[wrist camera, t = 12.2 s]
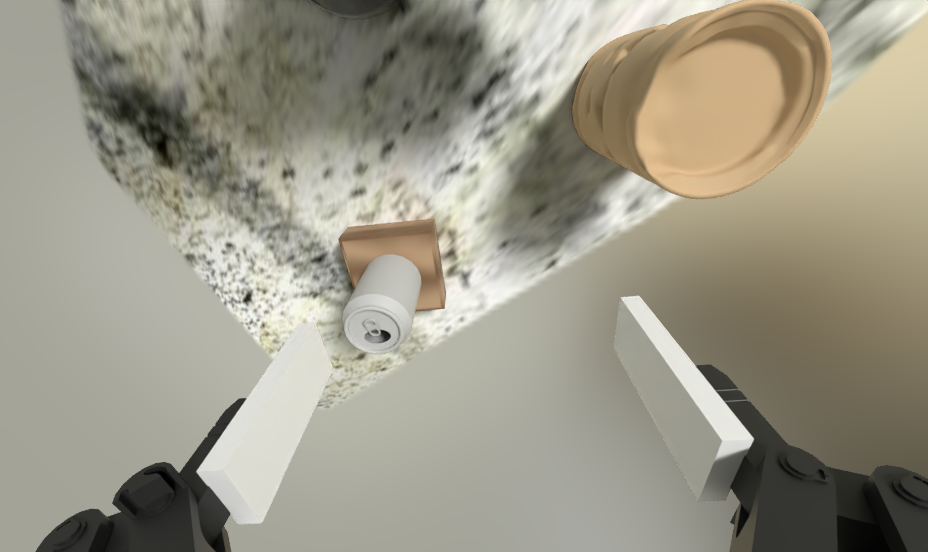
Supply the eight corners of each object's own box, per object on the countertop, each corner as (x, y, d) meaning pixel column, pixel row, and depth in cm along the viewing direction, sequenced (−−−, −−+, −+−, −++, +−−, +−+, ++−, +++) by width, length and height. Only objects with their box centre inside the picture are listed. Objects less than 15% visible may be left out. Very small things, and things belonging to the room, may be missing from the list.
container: (566, 158, 43) (623, 203, 27) (577, 36, 37) (658, 3, 21) (669, 153, 43) (787, 195, 27) (697, 28, 37) (871, -11, 21)
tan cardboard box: (347, 227, 48) (337, 239, 44) (434, 218, 47) (431, 230, 43) (368, 300, 54) (361, 316, 50) (446, 293, 53) (444, 309, 49)
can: (375, 303, 49) (350, 364, 38) (358, 256, 45) (325, 309, 35) (427, 295, 48) (417, 355, 38) (414, 246, 44) (398, 298, 34)
